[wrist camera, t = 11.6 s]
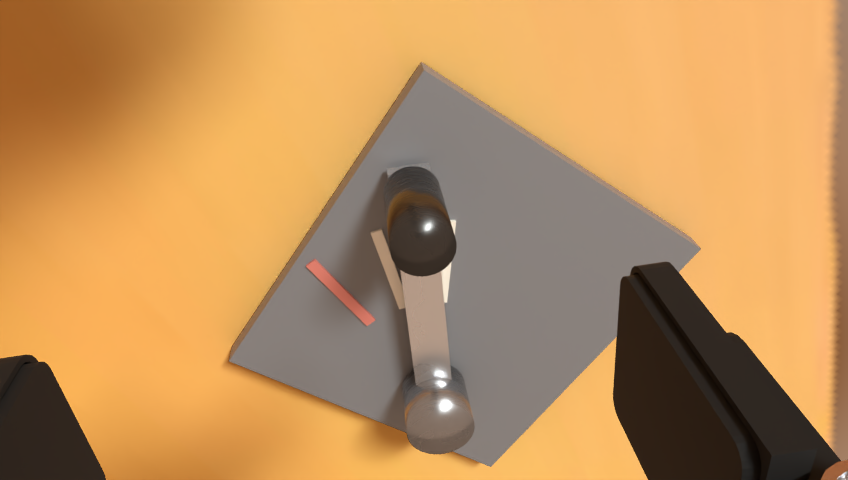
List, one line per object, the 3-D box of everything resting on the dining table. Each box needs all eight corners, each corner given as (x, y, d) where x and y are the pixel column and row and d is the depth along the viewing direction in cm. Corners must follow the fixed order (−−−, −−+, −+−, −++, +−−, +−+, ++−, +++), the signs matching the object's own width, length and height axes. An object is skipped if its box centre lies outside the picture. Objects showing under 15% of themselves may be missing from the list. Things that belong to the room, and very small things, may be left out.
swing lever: (466, 405, 48) (486, 492, 42) (405, 414, 48) (415, 503, 41) (445, 150, 38) (467, 213, 31) (367, 160, 38) (373, 225, 31)
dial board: (421, 61, 37) (424, 70, 36) (690, 237, 45) (702, 250, 44) (231, 346, 46) (228, 363, 44) (487, 451, 54) (491, 468, 52)
